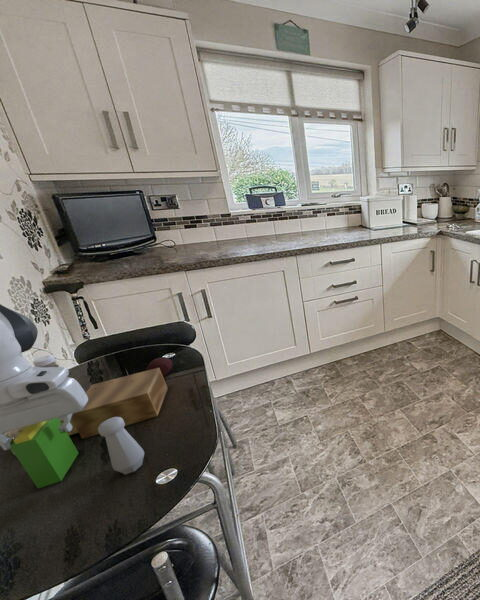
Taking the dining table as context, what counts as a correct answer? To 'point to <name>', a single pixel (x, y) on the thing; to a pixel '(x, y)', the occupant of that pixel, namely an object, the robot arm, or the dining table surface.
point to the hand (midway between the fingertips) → (40, 438)
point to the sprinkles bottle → (45, 361)
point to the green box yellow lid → (44, 452)
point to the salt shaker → (121, 446)
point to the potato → (161, 365)
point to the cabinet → (121, 401)
